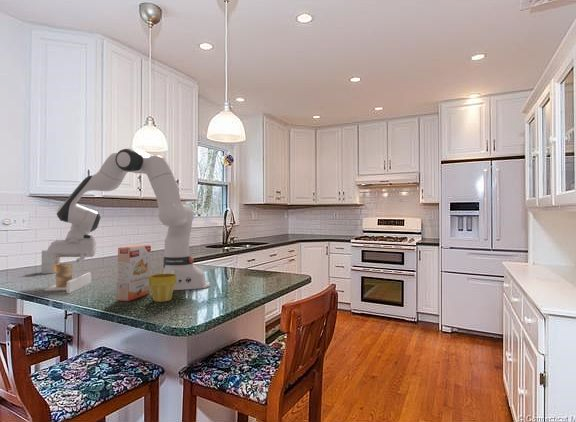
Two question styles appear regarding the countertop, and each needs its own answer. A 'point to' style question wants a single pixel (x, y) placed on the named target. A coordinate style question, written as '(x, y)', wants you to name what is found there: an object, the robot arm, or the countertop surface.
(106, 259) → the countertop surface
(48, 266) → the small box
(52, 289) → the pad
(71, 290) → the low wall
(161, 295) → the plant pot
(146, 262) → the cracker box
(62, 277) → the maple block
